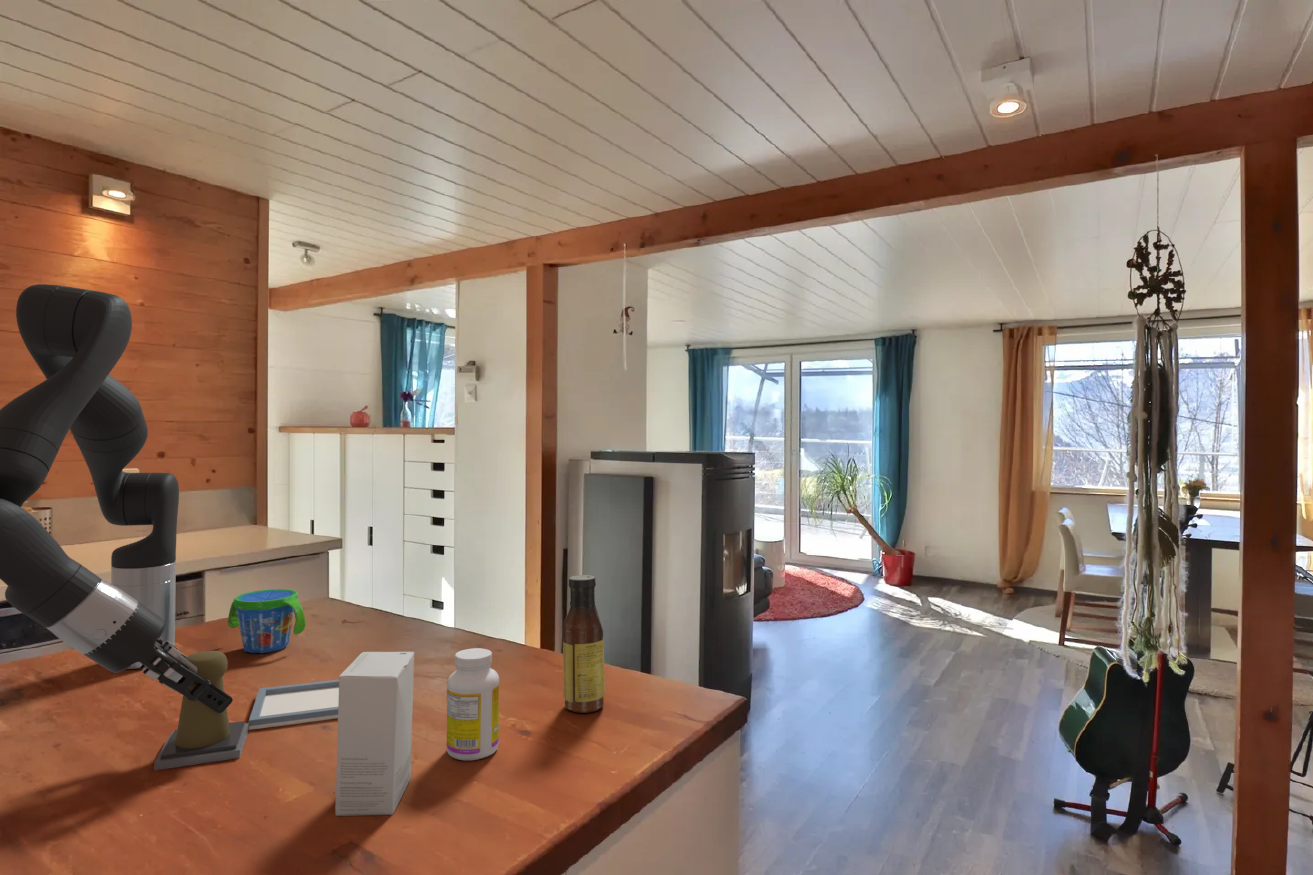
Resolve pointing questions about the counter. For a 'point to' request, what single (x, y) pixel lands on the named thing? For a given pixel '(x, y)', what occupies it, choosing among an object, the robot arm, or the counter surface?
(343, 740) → the skincare box
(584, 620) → the sauce bottle
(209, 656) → the olive tapered round piece
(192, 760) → the ink pad
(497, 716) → the supplement bottle
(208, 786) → the counter surface
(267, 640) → the snack cup
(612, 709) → the counter surface
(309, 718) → the blank framed board
